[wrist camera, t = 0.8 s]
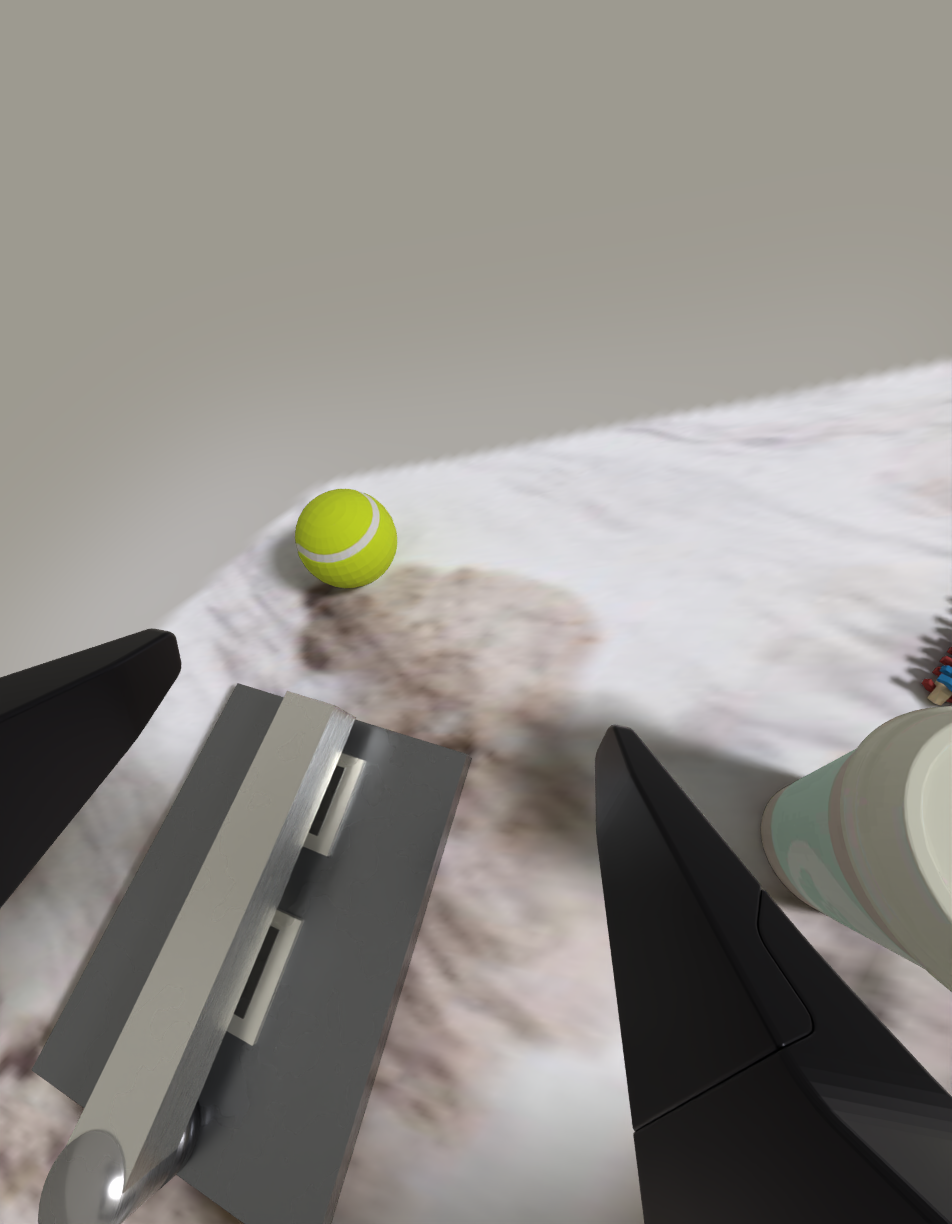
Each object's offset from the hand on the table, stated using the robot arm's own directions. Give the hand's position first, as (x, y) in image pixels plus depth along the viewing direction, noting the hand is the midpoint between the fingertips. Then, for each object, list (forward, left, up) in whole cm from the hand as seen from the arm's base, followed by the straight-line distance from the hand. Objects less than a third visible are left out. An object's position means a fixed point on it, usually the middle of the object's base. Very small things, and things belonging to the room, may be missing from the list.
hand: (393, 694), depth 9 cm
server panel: (-9, +10, -18) cm, 23 cm away
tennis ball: (+12, +14, -19) cm, 26 cm away
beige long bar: (-9, +10, -16) cm, 21 cm away
